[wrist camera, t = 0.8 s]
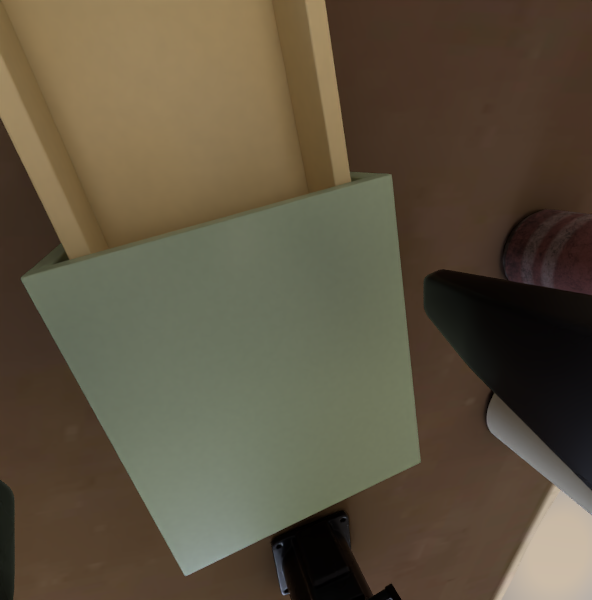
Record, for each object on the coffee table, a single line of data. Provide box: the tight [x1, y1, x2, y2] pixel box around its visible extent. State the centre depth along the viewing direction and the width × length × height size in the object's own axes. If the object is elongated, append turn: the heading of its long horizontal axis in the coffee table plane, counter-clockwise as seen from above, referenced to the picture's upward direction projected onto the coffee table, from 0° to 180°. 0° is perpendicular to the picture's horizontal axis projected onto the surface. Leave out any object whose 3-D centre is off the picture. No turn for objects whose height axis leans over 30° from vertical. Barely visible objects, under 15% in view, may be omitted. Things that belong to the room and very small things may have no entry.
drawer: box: [0, 0, 351, 260], centre depth 14 cm, size 20×13×5 cm, turn 12°
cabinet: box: [21, 172, 421, 576], centre depth 20 cm, size 17×14×7 cm
